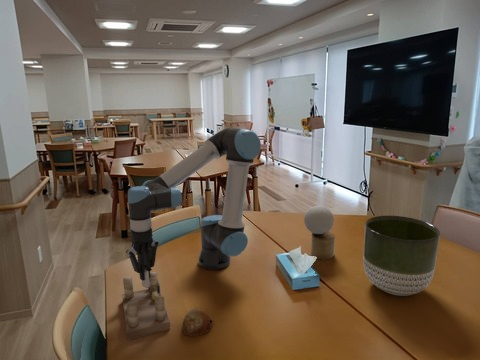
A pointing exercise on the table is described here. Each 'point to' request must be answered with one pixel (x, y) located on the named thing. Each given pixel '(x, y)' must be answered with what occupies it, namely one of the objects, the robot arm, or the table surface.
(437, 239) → the planter
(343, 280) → the table surface
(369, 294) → the table surface
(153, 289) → the hinged leg
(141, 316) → the peg board
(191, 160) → the robot arm
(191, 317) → the bread roll
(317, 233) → the lamp
